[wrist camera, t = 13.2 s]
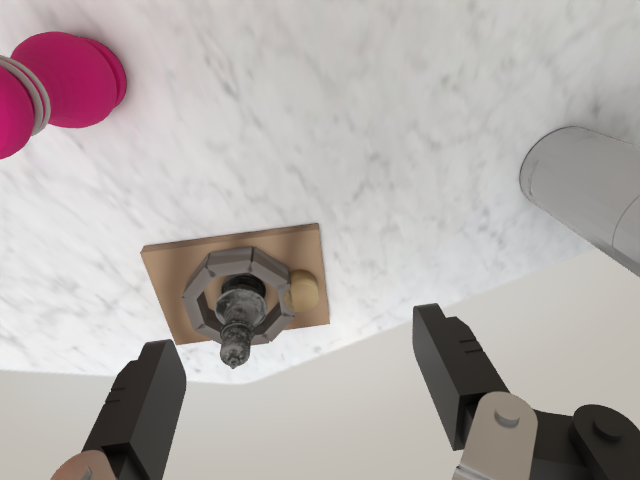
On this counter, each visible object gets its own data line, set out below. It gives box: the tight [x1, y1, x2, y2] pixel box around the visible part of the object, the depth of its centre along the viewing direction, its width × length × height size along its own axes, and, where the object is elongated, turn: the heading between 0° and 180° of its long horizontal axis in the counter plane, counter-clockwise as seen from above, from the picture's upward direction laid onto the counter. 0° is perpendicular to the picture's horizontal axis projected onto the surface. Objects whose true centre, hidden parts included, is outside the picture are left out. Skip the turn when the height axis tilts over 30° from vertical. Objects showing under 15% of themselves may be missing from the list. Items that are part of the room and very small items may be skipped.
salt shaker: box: [214, 273, 267, 369], centre depth 41 cm, size 6×6×12 cm
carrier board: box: [140, 223, 330, 345], centre depth 46 cm, size 20×14×4 cm
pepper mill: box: [0, 32, 126, 160], centre depth 27 cm, size 7×7×20 cm
